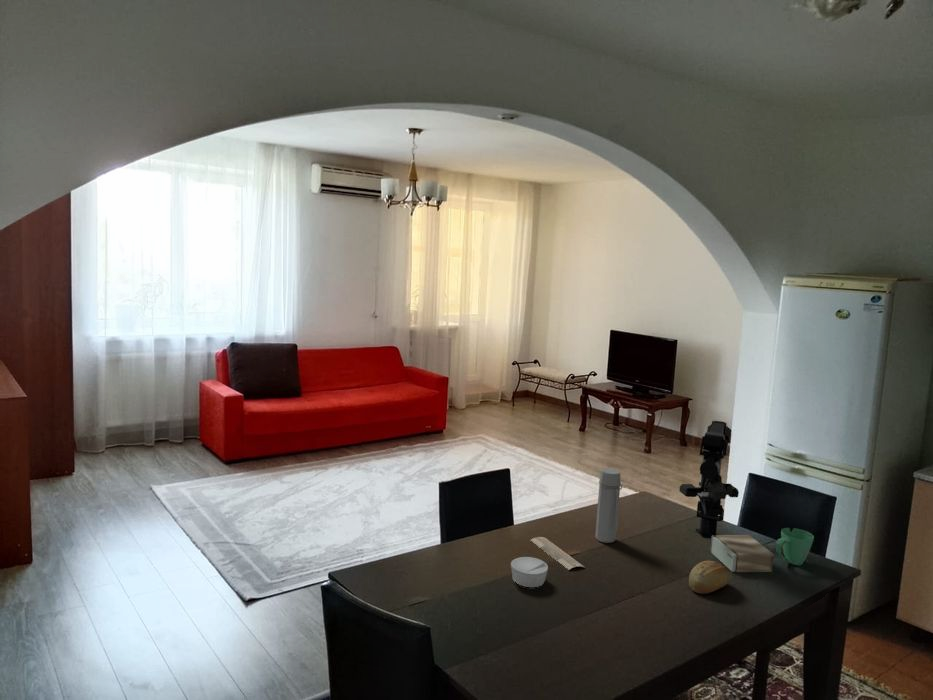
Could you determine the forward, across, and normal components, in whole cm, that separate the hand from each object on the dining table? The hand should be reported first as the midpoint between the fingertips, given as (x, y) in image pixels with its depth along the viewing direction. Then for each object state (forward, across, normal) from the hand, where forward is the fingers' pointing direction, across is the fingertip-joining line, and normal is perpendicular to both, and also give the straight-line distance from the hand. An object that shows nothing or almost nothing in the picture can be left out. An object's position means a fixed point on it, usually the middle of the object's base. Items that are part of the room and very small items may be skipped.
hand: (706, 514), depth 227 cm
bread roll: (+13, -11, -27) cm, 32 cm away
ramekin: (+13, -66, -22) cm, 71 cm away
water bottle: (+13, -32, +7) cm, 35 cm away
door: (+12, +2, -10) cm, 16 cm away
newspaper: (+14, -53, -4) cm, 55 cm away
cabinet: (+12, +9, -10) cm, 18 cm away
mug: (+13, +25, -11) cm, 30 cm away
